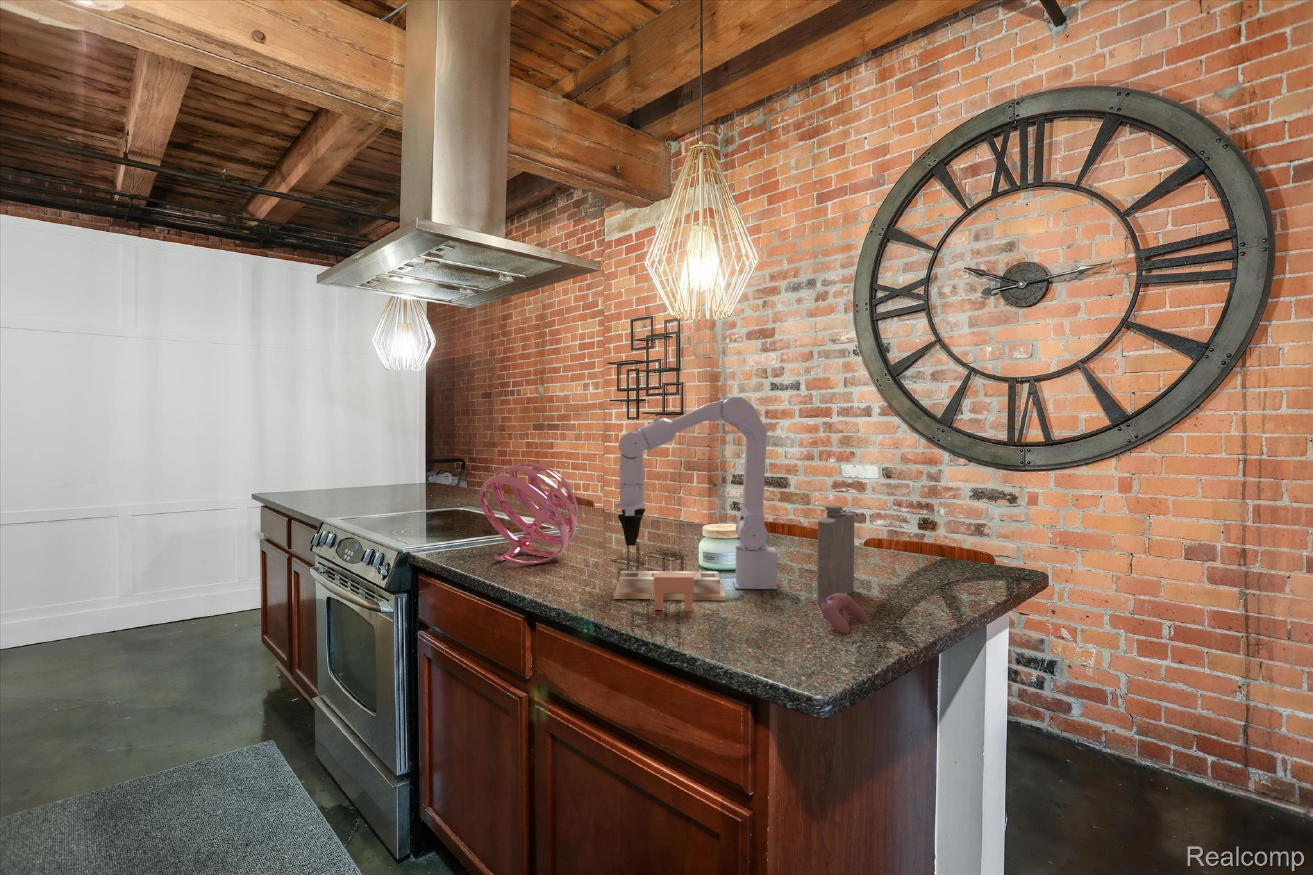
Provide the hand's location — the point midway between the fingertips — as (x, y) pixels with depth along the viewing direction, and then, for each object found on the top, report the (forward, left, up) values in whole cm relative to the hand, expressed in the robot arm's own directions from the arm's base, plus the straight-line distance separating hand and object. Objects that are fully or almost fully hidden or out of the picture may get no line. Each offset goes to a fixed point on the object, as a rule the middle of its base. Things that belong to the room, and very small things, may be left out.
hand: (632, 541), depth 149 cm
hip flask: (-45, +9, -10) cm, 47 cm away
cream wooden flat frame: (-9, +7, -10) cm, 15 cm away
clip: (-10, +19, -10) cm, 23 cm away
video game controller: (-42, +28, -10) cm, 51 cm away
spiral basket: (+29, -25, -10) cm, 40 cm away
